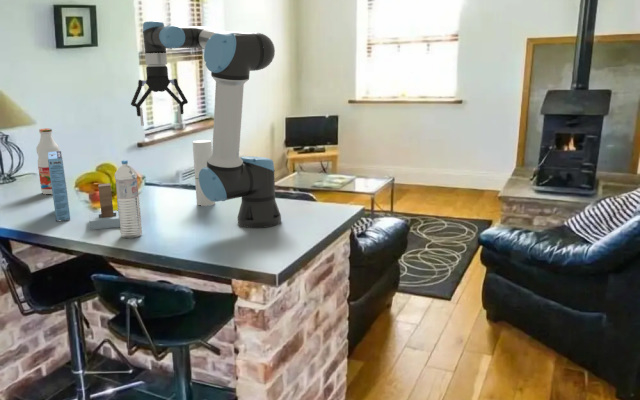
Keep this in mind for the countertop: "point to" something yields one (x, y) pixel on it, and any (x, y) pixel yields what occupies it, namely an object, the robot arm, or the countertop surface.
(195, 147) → the cylindrical container
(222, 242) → the countertop surface
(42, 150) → the fruit juice
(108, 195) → the peg
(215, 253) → the countertop surface
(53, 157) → the blue cardboard box
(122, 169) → the water bottle
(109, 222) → the socket block
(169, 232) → the countertop surface
